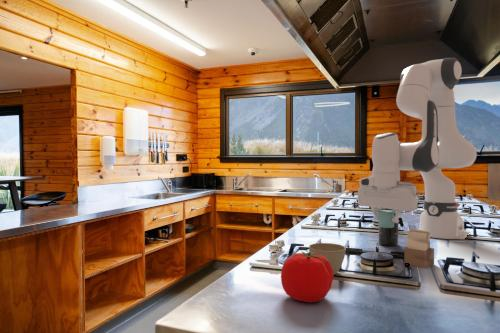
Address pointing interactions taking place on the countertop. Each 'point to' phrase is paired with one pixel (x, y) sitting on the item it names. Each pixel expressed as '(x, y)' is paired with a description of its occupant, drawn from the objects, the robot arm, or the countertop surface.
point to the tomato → (307, 277)
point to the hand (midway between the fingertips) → (386, 221)
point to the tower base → (419, 257)
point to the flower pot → (330, 253)
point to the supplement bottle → (389, 235)
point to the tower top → (418, 239)
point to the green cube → (385, 219)
